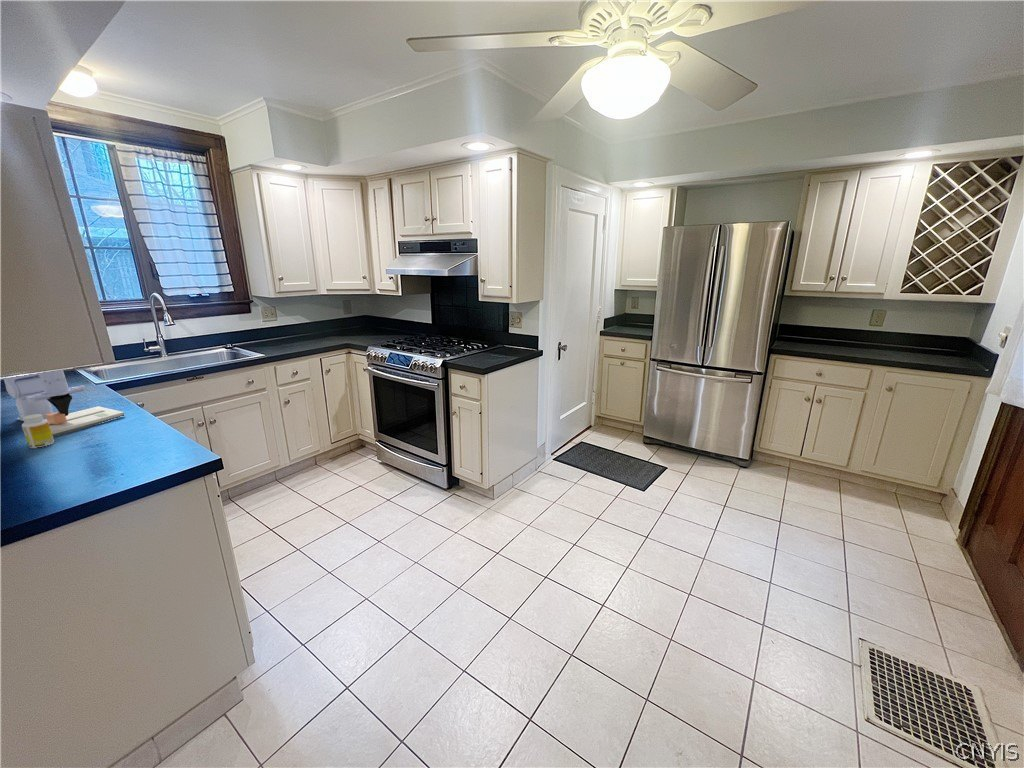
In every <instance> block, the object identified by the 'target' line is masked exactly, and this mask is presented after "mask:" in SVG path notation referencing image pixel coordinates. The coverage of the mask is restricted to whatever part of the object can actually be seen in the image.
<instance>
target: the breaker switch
mask: <svg viewBox="0 0 1024 768" xmlns="http://www.w3.org/2000/svg"><path fill="white" fill-rule="evenodd" d="M45 416H46V419H47V421H48V423H51V424H55V425H57V424H61V423H64V422H67V420H66V416H65V414H63V413H60V412H59V411H53V413H50V414H46V415H45Z"/></svg>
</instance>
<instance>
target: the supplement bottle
mask: <svg viewBox="0 0 1024 768" xmlns="http://www.w3.org/2000/svg"><path fill="white" fill-rule="evenodd" d="M23 420H24V421H23V423H22V424H21V429H22V432H23V433H24V437H25V439H26V442H27V445H28V447H29V448H30V449H38V448H37V447H42V446H46V447H48V446H47V445H49V446H51V445H53V444H54V443H55V439H54V437H53V435H52V432H51V429H50V426H49V423H48V421H47V420H45V419H43V417H42V415H41V414H33V415H28V416H25V417H23ZM50 444H51V445H50ZM42 448H43V447H42Z"/></svg>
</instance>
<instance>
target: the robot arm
mask: <svg viewBox="0 0 1024 768" xmlns="http://www.w3.org/2000/svg"><path fill="white" fill-rule="evenodd" d="M3 382H4V385H5V389H6V392H7V393H8V395H9V396H10V397H11V398H14V399H16V400H15V405H16V407H17V411H18V414H19V416H20V417H17V418H16V419H17V420H19V421H21V422H22V421H23V422H24V420H23V417H25V416H28V415H33V414H41V415H42V417H43V419H46V416H45V415H46V414H50V413H54V411H53V408H52V405H53V406H54V407H55V409H56V410H57V412H59V413H63V414H65V416H68V414H69V408H70V404H71V401H72V399H73V396H72V395H71V394H76V393H81V392H87V387H86V386H85V385H77V386H71V387H70V386H69V385H68V382H67V378H66V375H65V371H64V369H63V370H59V371H54V372H43V373H37V374H29V375H24V376H16V377H11V378H6V377H5V378H4V379H3Z"/></svg>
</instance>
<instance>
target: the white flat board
mask: <svg viewBox="0 0 1024 768" xmlns="http://www.w3.org/2000/svg"><path fill="white" fill-rule="evenodd" d="M124 415H125V412H124V411H121V410H117V409H116V410H115V409H114V408H113V409H112V408H108V407H103V406H99V405H98V406H95V407H94V406H93V407H90V408H86V409H82V410H78V411H74V412H70V413H69V412H68V416H66V420H67V422H64V423H61V424H57V425H55V424H51V423H49V426H50V429H51V432H52V435H53V436H56V437H58V435H59V436H62V434H63V435H66V434H70V433H73V432H77V431H80V430H79V429H81V430H84V429H87V428H86V427H88V428H90V427H89V426H91V427H93V426H92V425H95V426H97V425H96V424H98V425H100V424H99V423H102V422H105V421H108V420H111V419H114V418H118V417H120V416H124ZM125 416H126V415H125ZM45 420H47V419H45ZM102 424H103V423H102ZM83 428H84V429H83ZM76 430H77V431H76Z"/></svg>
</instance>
